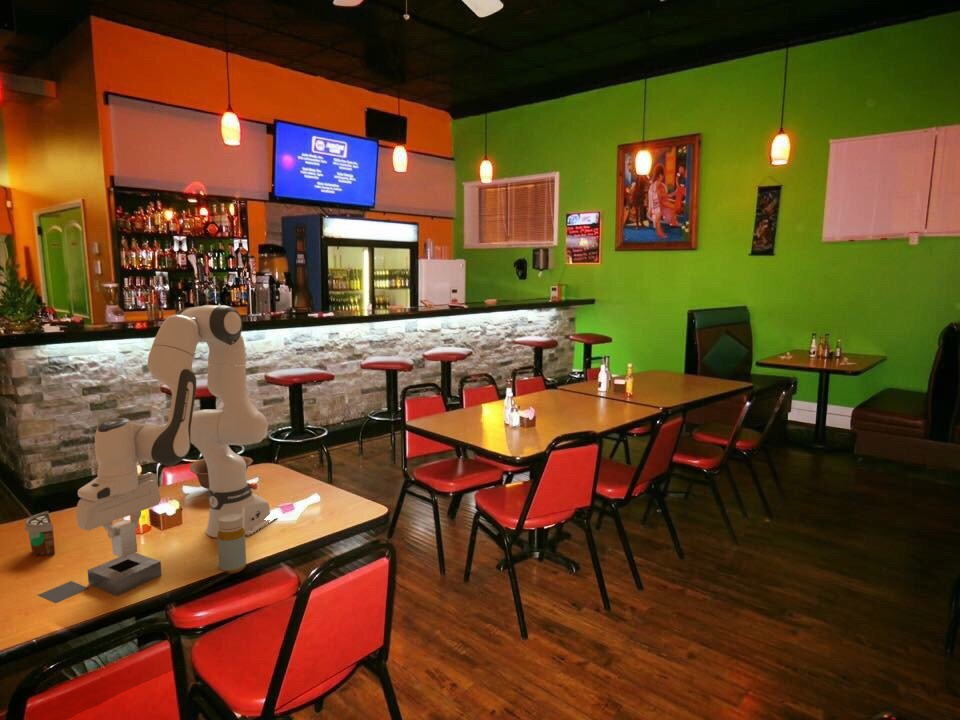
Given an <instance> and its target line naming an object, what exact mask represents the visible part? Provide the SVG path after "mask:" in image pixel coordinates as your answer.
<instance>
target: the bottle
mask: <svg viewBox="0 0 960 720" xmlns="http://www.w3.org/2000/svg"><path fill="white" fill-rule="evenodd" d="M242 523H243V518H242V514H240V513H228V514H224V515H222V516H220V517H219V518H218V526H219V532H218V535H217V553H218V554H217V555H218V568H219V570H220V571H222V572H225V574H226V575H231V574H232V575H233V574H236V573H239V572H241V571H243V570H244V569H245V568H246V566H247V551H246V550H247V548H246V536H245V530H244V528H243V524H242Z"/></svg>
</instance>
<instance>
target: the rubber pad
mask: <svg viewBox="0 0 960 720" xmlns="http://www.w3.org/2000/svg"><path fill="white" fill-rule="evenodd" d="M89 589H90V588H89V587H87V586H84V585H82V584H80V583H77V582H74V581H73V580H70V581H68V582H65V583H63V584H61V585H58V586H56V587H54V588H51V589H49V590H46V591H44V592H41V593H39V594H37V596H38V597H40V598H43V599H45V600H47V601H49V602H52V603H53V604H57V603H60V602H62V601H64V600H66V599H69V598H72V597H73V596H75V595H78V594H81V593H82V592H85V591H87V590H89Z"/></svg>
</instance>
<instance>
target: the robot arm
mask: <svg viewBox="0 0 960 720" xmlns="http://www.w3.org/2000/svg"><path fill="white" fill-rule="evenodd" d="M162 322H163V323H161V326H160V327H159V329H158V331H157V333H156V335H155V337H154V340H153V342H152V346H151V348H150V350H149V354H148V357H147V366H146V367H147V369H148V372H149V373H150V374H151V375H152V376H153V378H155V380H157V381H158V382H160V383H162V384H163V385H165V386H167V387H168V388H169V390H170V392H171V402H170V408H169V413H168V420H167V423H165V425H164V426H163V425H162V426H161V425H153V424H148V423H147V424H146V423H144V424H143V423H137V422H133V421H131V420H130V419H129V418H126V417H117V418H116V417H115V418H110V419H106V420H105V421H104V422H101V423H100V424H99V425H97V427H96V431H95V434H94V435H95V436H94V449H95V451H94V453H95V454H94V455H95V460H96V461H97V464H98V468H97V477H95V478H94V479H92V480H91V481H90V482H88V483H86V484H85V485H83V486H82V487H80V488H79V489H78V490H77V495H78V496H77V497H79V498H80V499H79V500H78V502H77V504H76V523H77V526H78V527H79V528H80V529H83V530H85V531H92V530H94V529H97V528H100V527H102V528H104V530H105V531H107V536H108V538H110V539H111V538H114V537H116V536H118V534H117V533H118V532H117V530H115V529H112V528H111V527H110V526H112V525H113V524H114V522H115V521H119V520H121V519H123V518H127V517H129V516H131V520H130V521H131V522H134V523H135V530H137V529H138V527H139V525H138V522H139V521H140V519H141V516H142V511H145V510H147V509H150V508H153V507H155V506H158V505H159V504H160V502H161V501H162V500H161V499H162V497H161V493H160V487H159V485H158V476H157V474H156V473H153V472H151V471H149V472H146V473H144V474H139V472H138V465H137V463H138V462H139V461H142V462H150V463H157V464H160V465H165V466H170V467H172V466H175V465H178V464H179V463H181V462H182V461H183V460H184V459H185V458H186V457H187V456H188V454H189V452H190V449H191V445H193V446H194V447H195V448H196V449H197V450H198V451H199V452H200V454H201V455H202V457H203V459H205V461H206V464H207V468H208V476H209V489H207V495H208V497H207V498H208V503H209V511H208V512H209V513H208V514H209V515H208V520H207V527H206V531H205V533H206V535H207V536H209V537H212V538H217V535H218V532H219V526H218V518H219V517H220V516H222V515H224V514H228V513H240V514H242V518H243V523H242V524H243V528H244V530H245V535H247V536H251V535H250V534H252V535H254V534H255V533H257V532H258V531H260V530H261V529H263V528H264V527H263V526H265V525H266V524H267V523H269V521H270V520H267V521H266V520H264V519H265V518H266V517H267V516H268V515H269V514H270V511H271V509H270V504H269V502H268V501H267V500H266V499H265V498H263V497H261V496H260V495H257V494H256V493H253V492H252V490H254V491H255V490H258V488H259V484H258V483H257V482H256V483H255V482H251V483H249V482H248V479H247V478H248V477H247V472H246V463H245V461H244V459H243V458H242V457H241V455H240V454H237V453H236V452H235V451H233V450H232V449H231V447H230V446H249V445H253V444H258V443H261V442H262V441H263V440H264V439H265V437H266V435H267V433H268V428H269V426H268V425H269V424H268V421H267V418H266V417H265V415H264V414H263V413H262V412H260V411H259V410H258V409H257V408H256V406H255V405H254V404H253V403H252V400H251V399H250V397H249V395H248V389H247V378H246V377H247V375H246V374H247V358H246V357H247V355H246V345H245V341H244V340H245V339H244V337H243V336H242V331H243V318H242V315H241V314H240V312H239V311H238V310H237V309H236V308H235V307H233V306H230V305H225V304H223V305H222V304H220V305H216V304H215V305H214V304H213V305H212V304H205V305H202V306H201V305H199V306H195V307H194V306H193V307H192V306H189V307H185V308H182V309H180V310H178V311H177V312H175V314H171V315H169V316H167V317H166V318H165V319H164V321H162ZM199 343H206V344H207V346H208V349H209V351H208V359H207V381H206V382H207V385H206V386H207V389H208V391H209V392H210V394H211V395H213V396H214V397H216V398H218V399H219V400H221V402H222V404H223V406H224V409H215V408H214V409H211V408H210V409H206V408H205V409H200V410H194V409H195V408H194V407H195V400H196V395H197V394H196V393H197V376H196V374H195V373H194V372H193V360H194V357H195V354H196V350H197V345H198V344H199ZM269 524H270V523H269ZM266 526H267V525H266ZM266 526H265V527H266ZM262 527H263V528H262ZM260 528H261V529H260ZM259 529H260V530H259ZM257 530H258V531H257ZM256 531H257V532H256ZM254 532H255V533H254ZM253 533H254V534H253Z"/></svg>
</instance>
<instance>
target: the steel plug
mask: <svg viewBox="0 0 960 720" xmlns="http://www.w3.org/2000/svg"><path fill="white" fill-rule="evenodd" d="M112 524H113V525H112V526H110V527H111V528H112V529H115V530H117V532H118V533H117V534H118V536H116V537H114V538H110V539H111V547H112V555H114V556H116V557H117V558H118V557H121V558H124V557H126V556H128V555H130V554H133V553H138V545H137V544H138V542H137V533H136V532H137V529H135V523H134V522H131V520H126V519H124V520H121V521H118V522H116V523H112Z"/></svg>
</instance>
